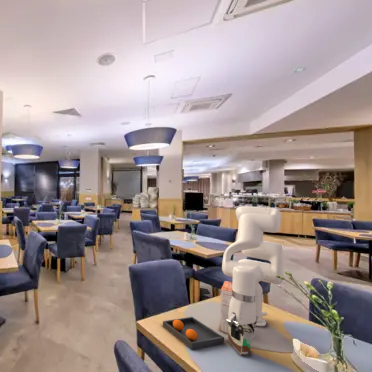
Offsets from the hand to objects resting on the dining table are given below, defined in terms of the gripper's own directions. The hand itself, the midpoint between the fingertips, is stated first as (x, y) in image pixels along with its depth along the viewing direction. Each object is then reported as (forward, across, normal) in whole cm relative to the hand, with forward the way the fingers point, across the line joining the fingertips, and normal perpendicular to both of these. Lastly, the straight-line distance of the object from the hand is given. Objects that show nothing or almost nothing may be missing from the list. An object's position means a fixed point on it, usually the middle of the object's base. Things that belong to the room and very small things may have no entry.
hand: (242, 336), depth 100 cm
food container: (+6, 0, 0) cm, 6 cm away
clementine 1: (+3, +17, -17) cm, 24 cm away
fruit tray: (+5, +13, -13) cm, 19 cm away
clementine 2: (+3, +17, -9) cm, 20 cm away
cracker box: (+6, -10, -13) cm, 18 cm away
